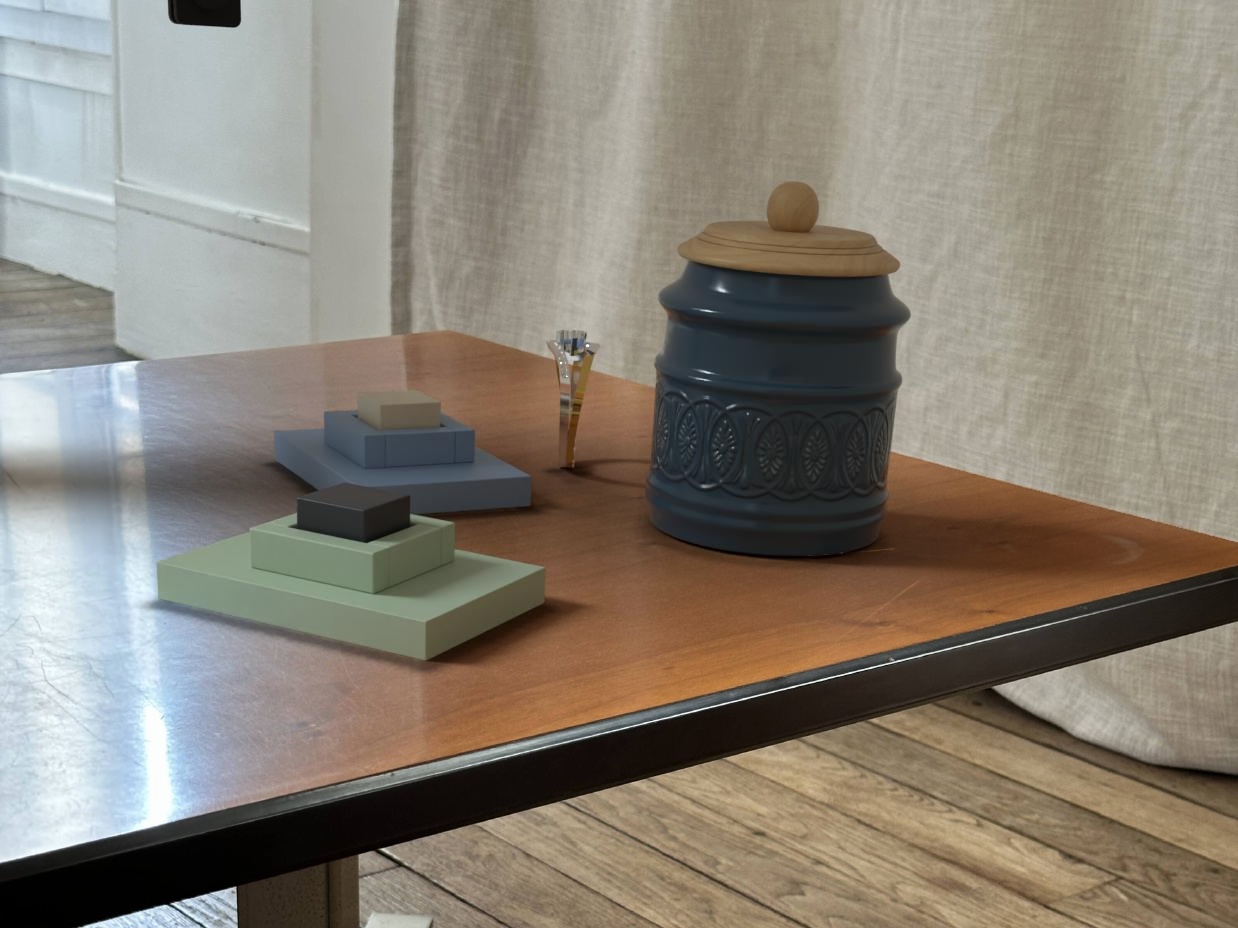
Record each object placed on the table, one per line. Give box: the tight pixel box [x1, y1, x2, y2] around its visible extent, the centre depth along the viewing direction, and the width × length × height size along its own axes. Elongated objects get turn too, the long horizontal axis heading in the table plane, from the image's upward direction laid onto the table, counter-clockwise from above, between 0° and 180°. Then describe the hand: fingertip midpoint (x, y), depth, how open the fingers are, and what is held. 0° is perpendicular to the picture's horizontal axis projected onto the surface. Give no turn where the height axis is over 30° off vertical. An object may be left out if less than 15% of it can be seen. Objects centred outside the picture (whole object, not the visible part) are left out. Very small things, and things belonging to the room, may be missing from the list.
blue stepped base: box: [273, 409, 533, 516], centre depth 99 cm, size 14×10×4 cm
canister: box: [644, 180, 912, 557], centre depth 91 cm, size 13×13×18 cm
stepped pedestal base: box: [155, 512, 547, 662], centre depth 78 cm, size 14×10×4 cm
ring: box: [545, 329, 601, 470], centre depth 104 cm, size 7×3×8 cm, turn 177°
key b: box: [356, 389, 442, 430], centre depth 98 cm, size 4×4×2 cm
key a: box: [296, 482, 410, 543], centre depth 77 cm, size 4×4×2 cm
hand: (205, 24), depth 87 cm, fingers closed
